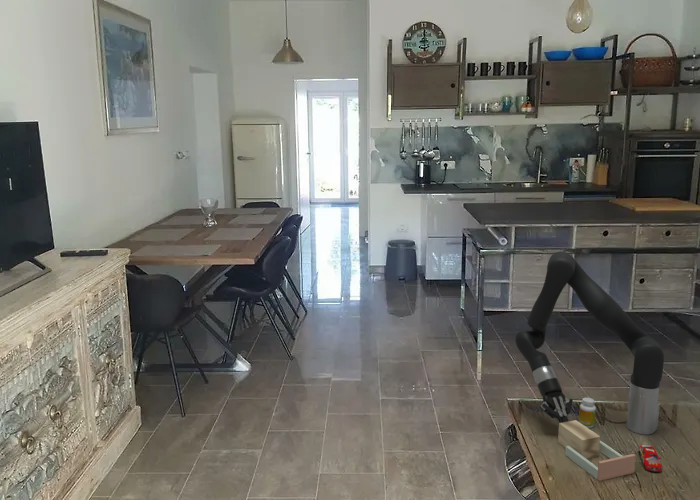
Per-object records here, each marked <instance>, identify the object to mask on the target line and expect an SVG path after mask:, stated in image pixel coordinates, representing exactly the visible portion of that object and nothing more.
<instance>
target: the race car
mask: <svg viewBox="0 0 700 500" xmlns="http://www.w3.org/2000/svg"><path fill="white" fill-rule="evenodd" d="M638 455H639V458H640V461H641V463H642V466H643V469H644V470H646V471H648V472H652V473H661V472H663V464H662V462H661V460H662V458H661V457H659V455H658V453H657V450H656V448H655V447H654V446H652V445H649V444H648V445H647V444H641V445H640V446H639V448H638Z"/></svg>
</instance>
